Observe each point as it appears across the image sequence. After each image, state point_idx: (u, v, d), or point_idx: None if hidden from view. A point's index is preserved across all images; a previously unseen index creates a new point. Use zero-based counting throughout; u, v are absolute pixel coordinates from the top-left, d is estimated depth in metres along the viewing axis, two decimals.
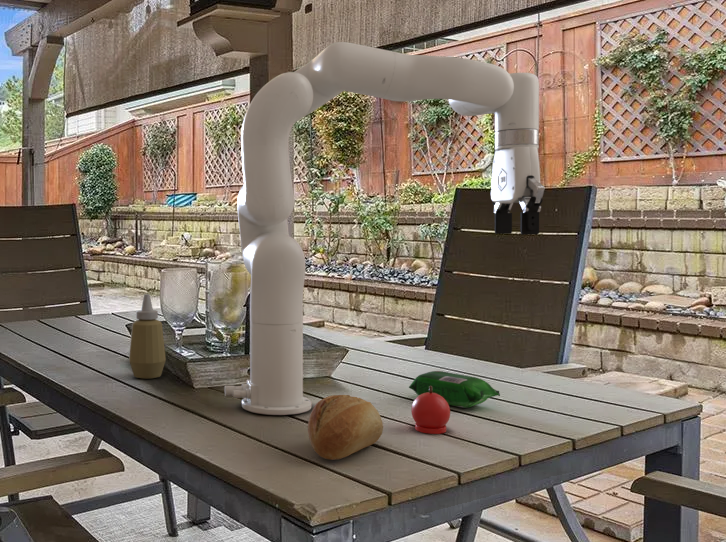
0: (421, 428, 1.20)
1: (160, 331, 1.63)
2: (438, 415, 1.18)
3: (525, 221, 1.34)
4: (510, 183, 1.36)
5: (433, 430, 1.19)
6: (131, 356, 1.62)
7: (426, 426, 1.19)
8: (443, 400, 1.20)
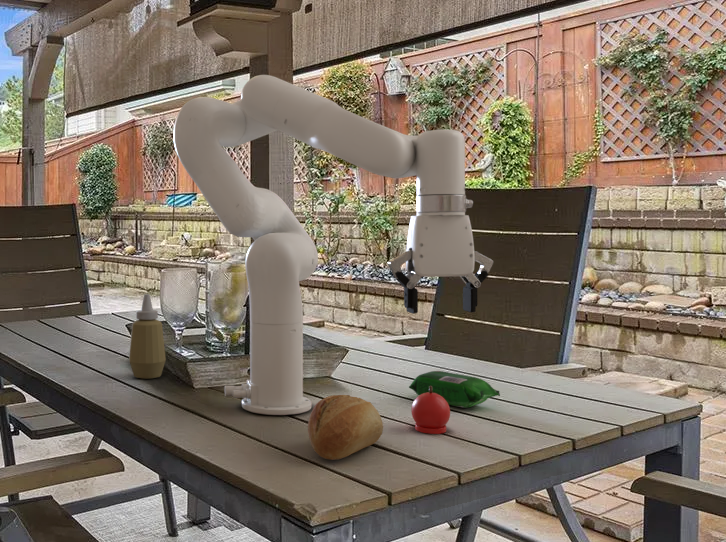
0: (421, 428, 1.20)
1: (160, 331, 1.63)
2: (438, 415, 1.18)
3: None
4: None
5: (433, 430, 1.19)
6: (131, 356, 1.62)
7: (426, 426, 1.19)
8: (443, 400, 1.20)
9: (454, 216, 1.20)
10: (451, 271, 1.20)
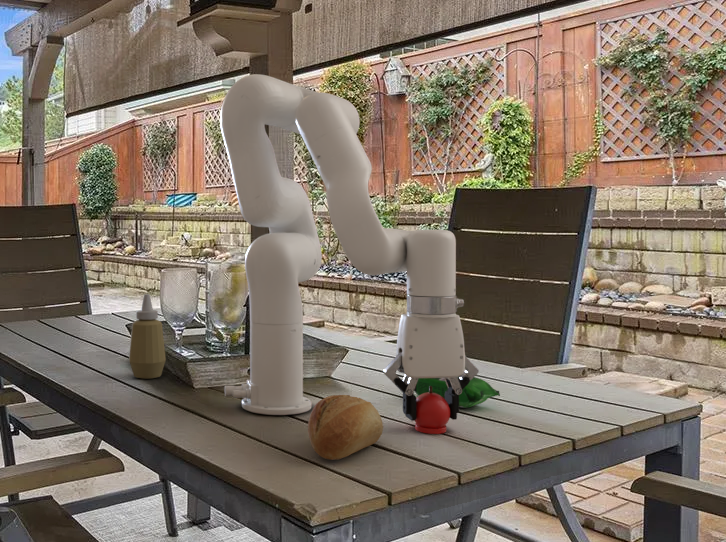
0: (421, 428, 1.20)
1: (160, 331, 1.63)
2: (438, 415, 1.18)
3: None
4: None
5: (433, 430, 1.19)
6: (131, 356, 1.62)
7: (426, 426, 1.19)
8: (443, 400, 1.20)
9: (444, 318, 1.18)
10: (441, 373, 1.19)
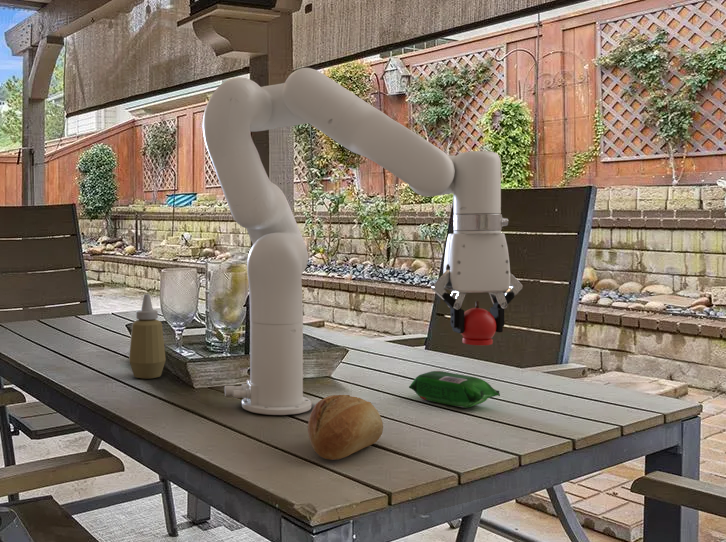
0: (469, 340, 1.26)
1: (160, 331, 1.63)
2: (485, 327, 1.24)
3: None
4: None
5: (480, 342, 1.25)
6: (131, 356, 1.62)
7: (474, 338, 1.25)
8: (490, 314, 1.26)
9: (490, 234, 1.25)
10: (488, 287, 1.25)
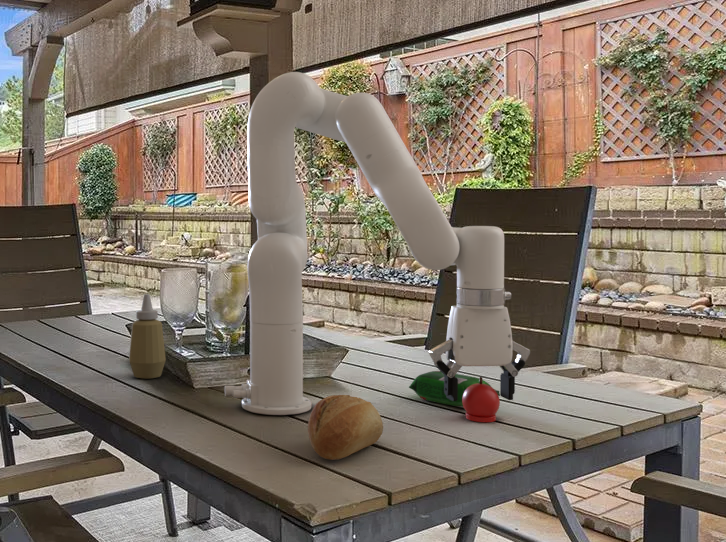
0: (472, 417, 1.27)
1: (160, 331, 1.63)
2: (489, 404, 1.25)
3: None
4: None
5: (484, 419, 1.26)
6: (131, 356, 1.62)
7: (477, 415, 1.26)
8: (493, 390, 1.27)
9: (493, 309, 1.25)
10: (490, 361, 1.26)
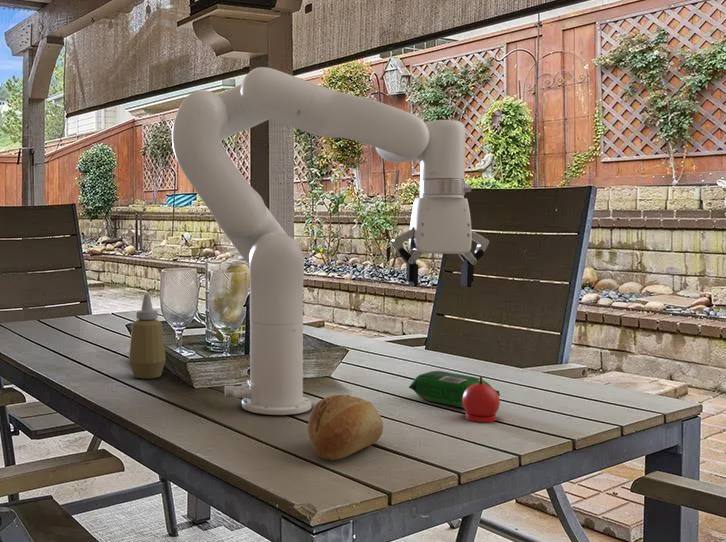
0: (472, 417, 1.27)
1: (160, 331, 1.63)
2: (489, 404, 1.25)
3: None
4: None
5: (484, 419, 1.26)
6: (131, 356, 1.62)
7: (477, 415, 1.26)
8: (493, 390, 1.27)
9: (453, 199, 1.32)
10: (449, 249, 1.32)
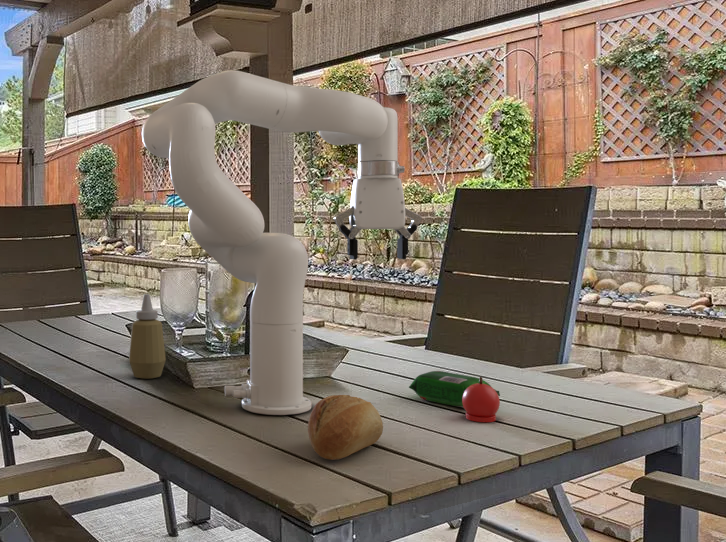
0: (472, 417, 1.27)
1: (160, 331, 1.63)
2: (489, 404, 1.25)
3: None
4: None
5: (484, 419, 1.26)
6: (131, 356, 1.62)
7: (477, 415, 1.26)
8: (493, 390, 1.27)
9: (388, 179, 1.45)
10: (385, 224, 1.45)
